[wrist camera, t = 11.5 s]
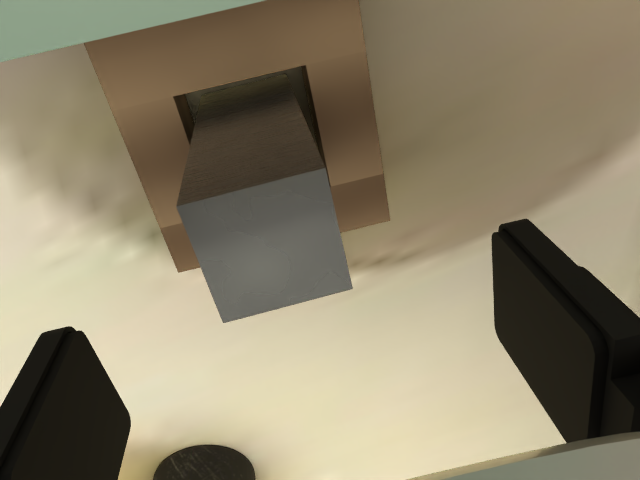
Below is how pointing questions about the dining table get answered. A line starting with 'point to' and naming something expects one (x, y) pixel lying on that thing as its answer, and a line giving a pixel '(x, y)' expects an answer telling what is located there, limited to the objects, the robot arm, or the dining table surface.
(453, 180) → the dining table surface
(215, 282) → the peg
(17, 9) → the green topped stand
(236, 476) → the travel mug
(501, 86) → the dining table surface
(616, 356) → the robot arm
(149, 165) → the socket block
